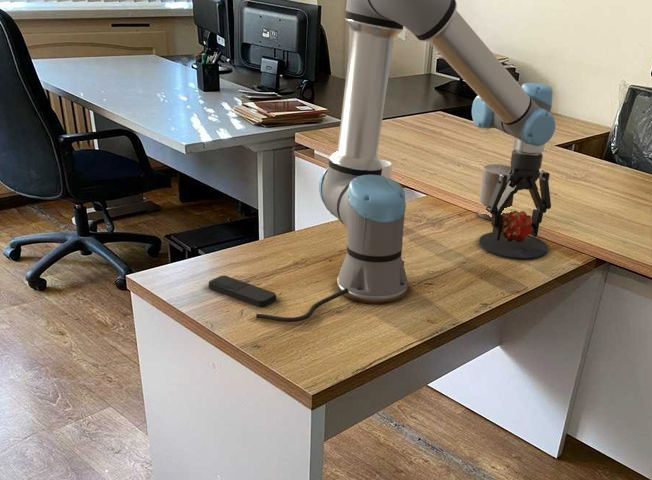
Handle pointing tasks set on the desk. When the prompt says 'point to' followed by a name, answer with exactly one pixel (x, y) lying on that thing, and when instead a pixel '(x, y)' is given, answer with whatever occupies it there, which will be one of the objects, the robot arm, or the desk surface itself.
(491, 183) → the pillar candle
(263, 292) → the remote control
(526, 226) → the dragon fruit
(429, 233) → the desk surface
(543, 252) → the mat
